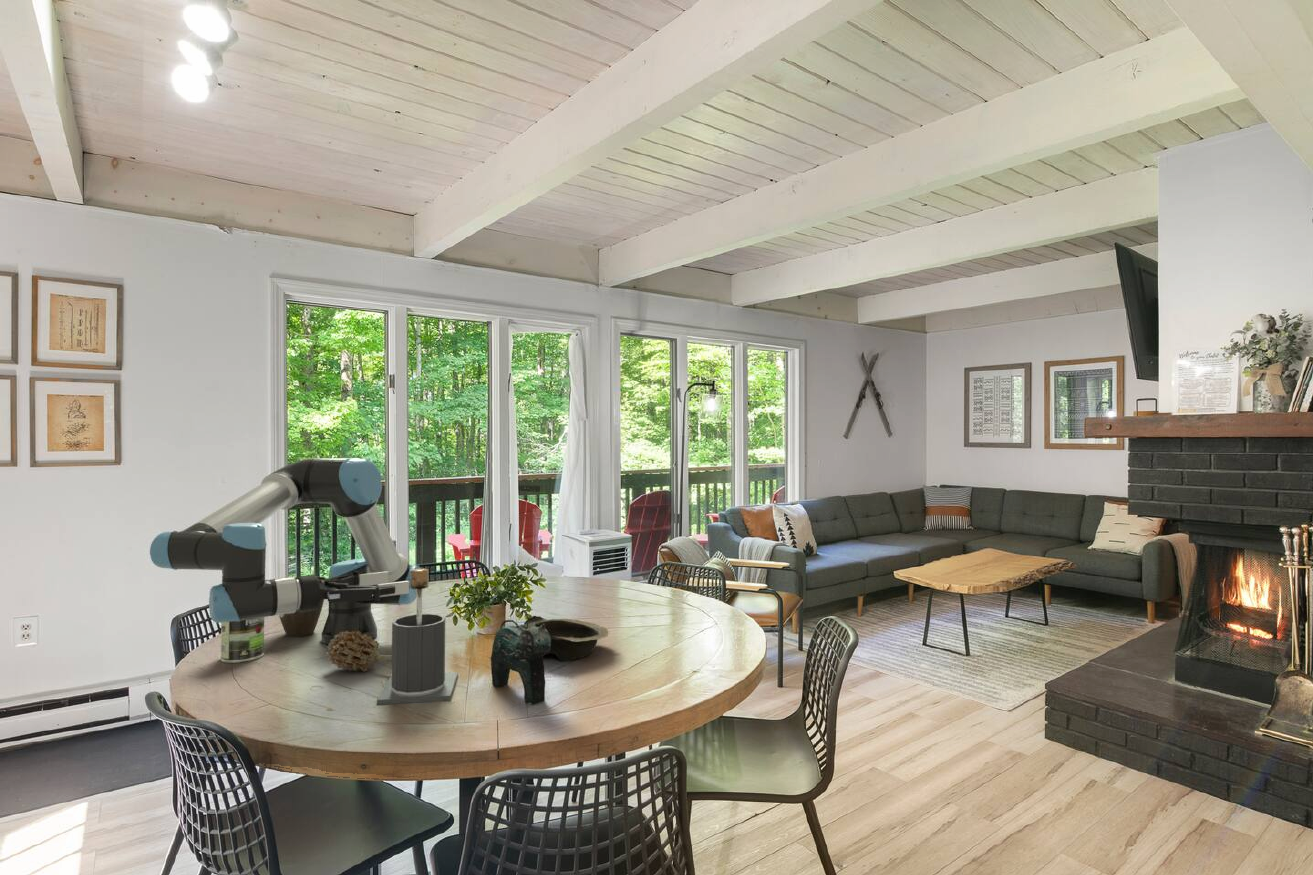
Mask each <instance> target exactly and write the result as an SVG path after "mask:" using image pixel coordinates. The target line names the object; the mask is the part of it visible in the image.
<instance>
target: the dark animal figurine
mask: <svg viewBox="0 0 1313 875" xmlns="http://www.w3.org/2000/svg"><path fill="white" fill-rule="evenodd" d="M523 613H524V614H525V615H526V620H527V628H526V629H525V628H524V627H521V626H519V624H518V623H517V622H516V621H515V620H512V619H506V620H504V621H503V622H502V623H501V624H500V627H499V629H498V630H497V631H496V633H495V636H494V638H493V642H492V649H491V655H490V666H491V667H490V670H491V671H490V672H491V681H492V682H491V683H492V685H493V686H494V687H496V688H498V689H500V688H503V687H507V686H508V683H509V680H510V673H511V671H513V672H516V673H518V675H519V676H520V680H521V682H522V684H523V691H524V692H523V693H524V696H523V698H524V699H523V700H524V703H529V704H530V705H532V706H533V705H537V704H540V703H543V702H545V698H546V695H545V694H546V678H545V676H546V675H545V673H546V672H545V664H544V656H543V655H544V654H546V653H548V652H549V651H550V649H551V638H550V635H549V633H548V631H547V630H546V629H545V624H542V625H541V626H540V627H536V626H535V622H534V623H533V624H532V626H531V628H528V618H529V614H528V613H527V611H526V610H521V611H520V613H519V615H520V616H521V615H522V614H523ZM506 623H513V624H514V625H508V626H504V625H505V624H506ZM503 626H504V627H503Z"/></svg>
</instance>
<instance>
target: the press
mask: <svg viewBox="0 0 1313 875" xmlns="http://www.w3.org/2000/svg"><path fill="white" fill-rule="evenodd" d="M416 625H417V613H415V614H408V615H403V616H399V617H398V618H394V619H393V621H392V622H391V628H392V630H391V632H392V633H391V655H392V660H391V675H390V677H389V678H388V680H387V682H386V683H385V685H384V687H383V689H382V691H381V692H380V694H379V696H378V697H377V700H376V705H386V704H387V705H388V704H405V703H406V704H407V703H422V702H436V701H437V702H440V701H451V700H452V696H453V692H454V689H455V687H456V684H457V679H458V673H459V672H457V671H455V672H454V671H453V672H451V671H450V672H445V671H446V616H444V615H442V614H437V613H436V614H435V613H422V626H416Z"/></svg>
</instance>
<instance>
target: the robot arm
mask: <svg viewBox="0 0 1313 875" xmlns="http://www.w3.org/2000/svg"><path fill="white" fill-rule="evenodd" d="M382 490H383V484H382V475H381V472H380V470H379V467H377V465H376V464H375V463H374V462H373V461H371V460H370V459H366V458H358V457H348V458H343V457H342V458H341V457H340V458H339V457H338V458H337V457H325V458H324V457H322V458H321V457H310V458H304V459H301V460H298V461H295V462H292V463H290V464H287V465H284V466H283V467H281V468H279V469H277V470H275V471H273V472H271V473H269V474H268V475H266V476H265V477H264V478H263V479H262V480H261V483H260V484H259V485H257V486H256V487H255V488H252V489H251V490H249V491H247V492H245V493H244V494H243V495H241V496H239V497H237V498H236V499H234V500H232V501H231V502H230V503H229V502H228V503H227V504H226V505H224V506H222V507H220V508H219V509H217V510H216V511H214V512H212V513H211V514H209V515H208V516H205V517H204V518H201V520H199V521H197V522H195V523H194V524H192V525H190V526H189V527H187V528H185V529H184V530H181V531H177V530H171V531H164V532H161V533H159V534H158V535H156V536H155V538H154V539H153V540H152V542H151V544H150V547H149V557H150V560H151V562H152V563H153V564H154V565H155V566H156V567H158V568H160V569H169V570H171V569H172V570H175V571H176V570H203V571H204V570H205V571H207V570H208V571H221V574H222V576H221V583H219V584H216V585H213V586H211V588H210V589H209V590H210V591H209V598H208V606H209V608H208V609H209V616H210V619H211V620H212V621H213V622H214V623H216V624H221V622H232V621H237V622H239V621H242V620H248V619H254V618H261V617H264V618H267V617H274V616H278V617H279V618H280V617H283V616H284V614H289V613H295V612H296V610H298V611H299V612H305V611H312V610H316V609H317V608H318V607H319V602H320V601H321V600H322V599H324V600H327V602H328V614H327V618H326V620H325V624H324V626H323V629H322V632H321V643H323V644H326V645H329V644H330V643H331V641H330V640H332V639H334V636H335V635H339V633H340V632H345V631H348V632H352V631H356V632H358V631H360V632H361V634H362V635H364V634H366V635H367V636H371V637H372V639H373V640H375V638H377V636H378V627H377V623H376V620H375V617H374V616H373V612H372V605H386V606H387V605H392V606H406V605H411V604H413V603H414V602H415V600H417V589H411V570H414V569H421V567H420V566H419V565H417V564H409V561H408V558H406V557H405V555H404V554H402V553H399V552H398V550H397V548H396V546H395V544H394V540H393V539H392V537H391V534H390V532H389V530H388V528H387V525H386V523H385V521H384V519H383V517H382V515H381V512H380V510H379V507H378V505H377V503H378V502H379V498H380V497H381V494H382ZM312 503H313V504H329V506H330V507H331V509H332V511H333V512H334V514H335V515H336V516H338V517H340V518H343V519H344V520H345V523H346V525H347V527H348V528H349V531H350V533H351V535H352V537H353V539H354V540H355V543H356V545H357V547H358V549H359V551H360V553H361V554H362V558H354V559H350V560H349V559H348V560H343V561H339V562H336V563H334V564H332V565H331V566H330V568H329V571H328V572H329V573H328V578H327V579H324V580H318V577H319V576H317V575H315V574H309V575H300V576H297V577H298V578H297V579H295V578H294V576H287V577H280V578H273V579H272V578H271V579H266V557H267V556H266V555H267V554H266V552H267V550H266V549H267V540H266V528H265V526H264V524H262V523H263V522H264V521H266V520H267V519H269V518H271V517H272V516H273V515H274V514H277V512H279V511H280V510H288V509H291V508H293V507H294V506H296V505H299V504H312Z"/></svg>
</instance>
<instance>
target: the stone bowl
mask: <svg viewBox="0 0 1313 875" xmlns="http://www.w3.org/2000/svg"><path fill="white" fill-rule="evenodd" d="M534 622H535V626H536V627H540V626H541V625H542V624H545V629H546V630H547V631H548V633H549V635H550V638H551V649H550V651H549V652H548V653H546V654H544V655H543V657H544V656H547V655H552V654H555V655H556V657H557V658H558V659H559V660H560V661H565V662H571V661H573V660H580V659H582V658H584V657H586V656H587V655H591V654H592V653H593V651H594V649H595V648H596V646H597V643H598V640H601V639H604V638H607V637H608V636H609V630H608V628H606V627H605V626H600V624H597V623H595V622H594V623H592V622H588V621H582V620H579V619H571V618H552V619H546V618H543V617H542V616H538V615H537V616H536V615H533V616H531V617H529V616H528V628H531V626H532V624H533V623H534ZM518 625H519V624H518ZM519 626H521V627H524V628H525V629H526V628H527V619H526V620H525V621H524V624H520V625H519Z"/></svg>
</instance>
